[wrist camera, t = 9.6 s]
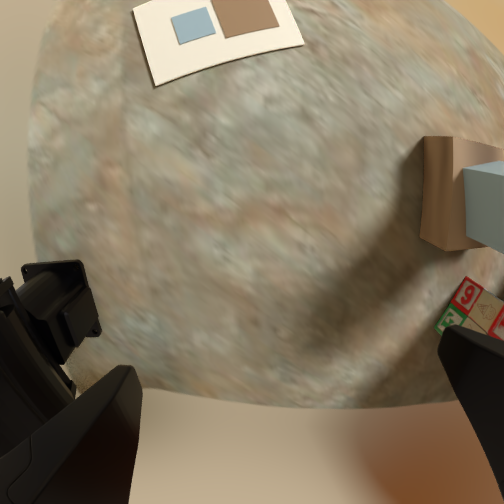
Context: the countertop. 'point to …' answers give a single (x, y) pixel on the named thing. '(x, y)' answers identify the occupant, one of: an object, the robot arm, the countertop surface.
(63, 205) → the countertop surface
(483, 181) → the blue brick
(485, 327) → the stack of blocks
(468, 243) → the walnut base
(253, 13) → the page
